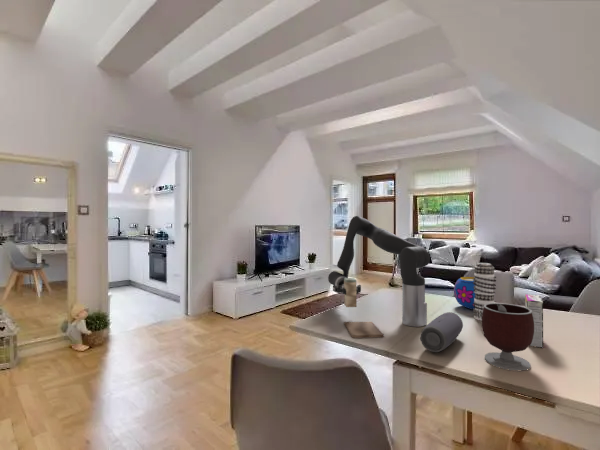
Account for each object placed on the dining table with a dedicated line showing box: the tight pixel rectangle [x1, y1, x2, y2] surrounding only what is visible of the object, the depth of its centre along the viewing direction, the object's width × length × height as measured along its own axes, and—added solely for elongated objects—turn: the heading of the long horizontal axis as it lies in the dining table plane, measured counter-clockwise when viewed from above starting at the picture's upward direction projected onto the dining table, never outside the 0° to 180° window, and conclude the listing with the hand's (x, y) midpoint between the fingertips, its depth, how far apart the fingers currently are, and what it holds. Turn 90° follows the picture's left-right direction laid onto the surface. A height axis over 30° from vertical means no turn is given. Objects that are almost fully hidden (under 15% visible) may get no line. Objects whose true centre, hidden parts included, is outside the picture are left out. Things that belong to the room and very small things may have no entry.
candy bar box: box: [524, 293, 544, 349], centre depth 120 cm, size 11×5×16 cm, turn 148°
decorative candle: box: [473, 262, 497, 321], centre depth 149 cm, size 9×9×25 cm
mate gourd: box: [481, 302, 534, 371], centre depth 102 cm, size 16×14×20 cm
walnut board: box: [343, 321, 384, 339], centre depth 133 cm, size 12×16×1 cm
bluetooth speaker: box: [419, 311, 464, 353], centre depth 117 cm, size 23×9×10 cm, turn 141°
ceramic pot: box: [453, 276, 475, 310], centre depth 166 cm, size 18×18×15 cm
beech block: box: [343, 277, 358, 308], centre depth 148 cm, size 4×5×12 cm
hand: (351, 292), depth 145 cm, fingers closed on beech block, 4 cm apart
